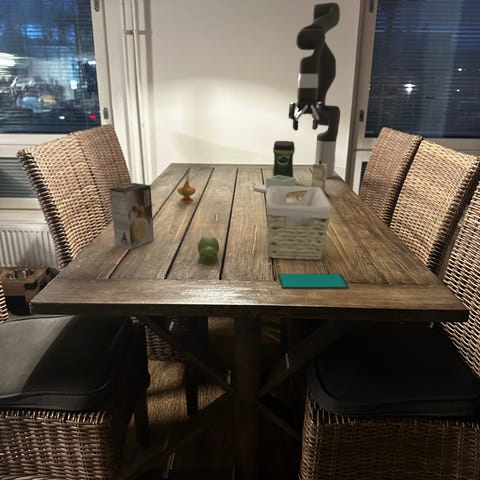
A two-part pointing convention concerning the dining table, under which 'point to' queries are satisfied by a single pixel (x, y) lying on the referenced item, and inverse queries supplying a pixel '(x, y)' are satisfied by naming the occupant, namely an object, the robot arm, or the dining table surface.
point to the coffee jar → (283, 158)
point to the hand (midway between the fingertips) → (305, 129)
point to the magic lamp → (186, 190)
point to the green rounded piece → (208, 250)
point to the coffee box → (132, 215)
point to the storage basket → (297, 222)
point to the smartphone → (312, 281)
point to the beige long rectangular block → (319, 175)
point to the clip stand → (277, 183)
